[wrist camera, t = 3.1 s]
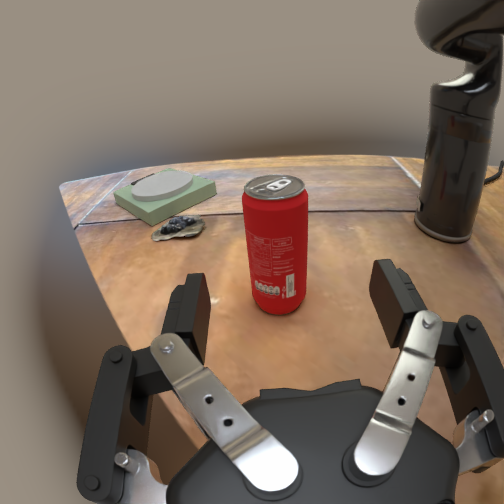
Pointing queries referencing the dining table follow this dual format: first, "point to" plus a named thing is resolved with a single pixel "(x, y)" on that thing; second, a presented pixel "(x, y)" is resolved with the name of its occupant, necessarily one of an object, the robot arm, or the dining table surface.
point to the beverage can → (277, 241)
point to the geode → (179, 227)
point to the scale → (164, 194)
